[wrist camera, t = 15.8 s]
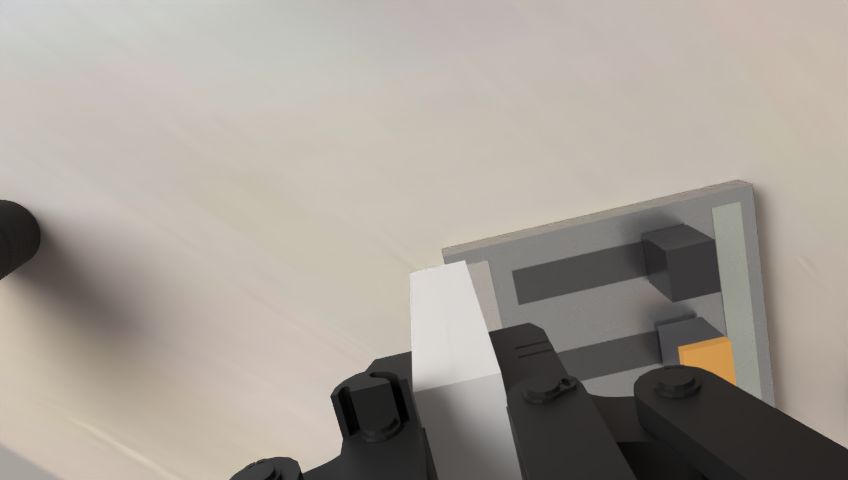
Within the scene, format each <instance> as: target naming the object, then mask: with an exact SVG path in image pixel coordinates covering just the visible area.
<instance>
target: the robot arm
mask: <svg viewBox="0 0 848 480" xmlns="http://www.w3.org/2000/svg"><path fill="white" fill-rule="evenodd" d="M410 303H411V342H412V351H410V352H406V353H402V354H397V355H393V356H389V357H384V358H380V359H376V360H374V361H373V362H372V364H371V365H370V366H369V367H368V369H367V370H366V371H365V372H362V373H359V374H356V375H354V376H352V377H350V378H348V379H346V380H344V381H343V382H342V383H341V384H339V385H338V386H337V387H336V388H335V389H334V391H333V392H332V394H331V396H330V397H331V400H332V403H333V407H334V410H335V413H336V417H337V420H338V423H339V427H340V430H341V433H342V437H343V443H342V449H341V454H340V455H339V456H337V457H336V458H334V459H333V460H331V461H329V462H327V463H325V464H323V465H321V466H319V467H317V468H314V469H312V470H310V471H307V472H305V473H303V474H302V472H301V469H300V466H299V464H298V462H297V461H295V460H293V459H291V458H290V457H274V458H269V459H262V460H259V461H257V462H256V463H255V462H254V463H252V464H249V465H248V466H246V467H245V468H244V469H242V470H241V471H239V472H238V473H236V474H235V475H234V476H233V477H232V478H231V479H230V480H848V449H846V448H845V447H843V446H841V445H839V444H838V443H836V442H834V441H832V440H830V439H829V438H827V437H825V436H823V435H822V434H820V433H818V432H816V431H815V430H813V429H811V428H809V427H808V426H806V425H804V424H802V423H801V422H799V421H797V420H795V419H793V418H792V417H790V416H788V415H786V414H785V413H783V412H781V411H779V410H778V409H776V408H774V407H772V406H771V405H769V404H767V403H765V402H764V401H762V400H760V399H758V398H756V397H755V396H753V395H751V394H749V393H748V392H746V391H744V390H742V389H741V388H739V387H737V386H735V385H734V384H732V383H730V382H728V381H727V380H725V379H723V378H721V377H719V376H718V375H716V374H714V373H712V372H710V371H707V370H705V369H702V368H699V367H693V366H685V365H674V366H672V365H668V366H663V367H661V368H657V369H653V370H650V371H648V372H647V373H645V374H643V375H641V376H640V377H639V378H638V379H637V380H636V381H635V383H634V396H625V397H604V396H598V395H592V394H589V393H588V392H587V390H586V389H585V387H584V385H583V384H582V383H581V382H580V381H579V380H578V379H577V378H576V377H573V376H570V375H568V373H567V372H566V370H565V368H564V366H563V364H562V362H561V361H560V359H559V357H558V355H557V353H556V351H555V350H554V348H553V346H552V344H551V342H550V341H549V338H548V336H547V335H546V333H545V331H544V329H542V328H540V327H538V326H536V325H534V324H532V323H530V322H529V323H525V324H520V325H516V326H512V327H507V328H503V329H499V330H494V331H490V332H488V330H487V327H486V324H485V321H484V318H483V315H482V312H481V309H480V305H479V302H478V299H477V296H476V293H475V290H474V287H473V284H472V281H471V277H470V274H469V271H468V268H467V265H466V262H465V260H463V261H459V262H455V263H450V264H446V265H442V266H438V267H433V268H429V269H425V270H420V271H416V272H412V273H410Z"/></svg>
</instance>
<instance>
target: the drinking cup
mask: <svg viewBox="0 0 848 480" xmlns="http://www.w3.org/2000/svg"><path fill="white" fill-rule="evenodd" d="M39 244H40V231H39V227H38V225H37V222H36V221H35V219H34V217H33V216H32V215H31V214H30V213H29V212H28V211H27V210H26V209H25V208H23V207H22V206H20V205H18V204H16V203H14V202H11V201H7V200H0V280H1V279H2V278H4V277H5V276H7V275H8V274H9V273H11V272H12V271H14V270H15V269H17V268H18V267H19V266H21V265H22V264H24V263H25V262H26V261H28V260H29V259H31V258H32V257H33V256H34V254H35V253H36V251H37V250H38V247H39Z"/></svg>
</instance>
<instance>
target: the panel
mask: <svg viewBox="0 0 848 480" xmlns="http://www.w3.org/2000/svg"><path fill="white" fill-rule="evenodd" d="M442 254H443V258H444V263H445V265H446V264H450V263H455V262H459V261H463V260H465V262H466V265H467V268H468V271H469V274H470V277H471V281H472V284H473V287H474V290H475V293H476V296H477V299H478V302H479V305H480V309H481V312H482V315H483V318H484V321H485V324H486V327H487V330H488V332H490V331H494V330H499V329H503V328H507V327H512V326H516V325H520V324H525V323H529V322H530V323H532V324H534V325H536V326H538V327H540V328H542V329H544V331H545V333H546V335H547V336H548V338H549V341H550V342H551V344H552V346H553V348H554V350H555V351H556V353H557V355H558V357H559V359H560V361H561V362H562V364H563V366H564V368H565V370H566V372H567V373H568V375H570V376H573V377H576V378H577V379H578V380H579V381H580V382H581V383H582V384H583V385H584V387H585V389H586V390H587V392H588V393H589V394H592V395H598V396H604V397H625V396H634V383H635V381H636V380H637V379H638V378H639V377H640V376H641V375H643V374H645V373H647V372H648V371H650V370H653V369H657V368H661V367H663V366H664V365H663V359H662V352H661V346H660V339H659V332H658V326H662V325H666V324H670V323H675V322H679V321H683V320H688V319H692V318H697V317H702V318H704V319H705V320H706V321H707V322H708V323H710V324H711V325H712V326H713V327H715V328H716V329H717V330H718V331H719V332H721V333H722V334H723V335H724V336H725V337H727V338H728V339H729V340H730V341H731V346H732V354H733V362H734V371H735V379H736V386H737V387H739V388H741V389H742V390H744V391H746V392H748V393H749V394H751V395H753V396H755V397H756V398H758V399H760V400H762V401H764V402H765V403H767V404H769V405H771V406H772V407H774V408H776V407H775V398H774V388H773V378H772V369H771V359H770V350H769V340H768V330H767V321H766V311H765V301H764V292H763V282H762V273H761V263H760V253H759V244H758V234H757V225H756V215H755V205H754V196H753V186H752V184H750V183H747V182H743V181H740V180H734V181H730V182H726V183H722V184H717V185H713V186H709V187H705V188H700V189H696V190H692V191H687V192H683V193H679V194H675V195H670V196H666V197H662V198H658V199H653V200H649V201H645V202H640V203H636V204H632V205H628V206H623V207H619V208H615V209H611V210H606V211H602V212H598V213H593V214H589V215H585V216H581V217H576V218H572V219H568V220H564V221H559V222H555V223H551V224H546V225H542V226H538V227H534V228H529V229H525V230H521V231H517V232H512V233H508V234H504V235H499V236H495V237H491V238H487V239H482V240H478V241H474V242H470V243H465V244H461V245H457V246H452V247H448V248H444V249H442Z"/></svg>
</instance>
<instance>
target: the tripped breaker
mask: <svg viewBox="0 0 848 480" xmlns="http://www.w3.org/2000/svg"><path fill="white" fill-rule="evenodd" d="M658 332H659V339H660V346H661V352H662V359H663V365H664V366H668V365H672V366H674V365H685V366H693V367H699V368H702V369H705V370H707V371H710V372H712V373H714V374H716V375H718V376H719V377H721V378H723V379H725V380H727V381H728V382H730V383H732V384H734V385H735V386H736V379H735V371H734V362H733V354H732V346H731V341H730V340H729V339H728V338H727V337H725V336H724V335H723V334H722V333H721V332H719V331H718V330H717V329H716V328H715V327H713V326H712V325H711V324H710V323H708V322H707V321H706V320H705V319H704V318H702V317H697V318H692V319H688V320H683V321H679V322H675V323H670V324H666V325H662V326H658Z"/></svg>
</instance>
